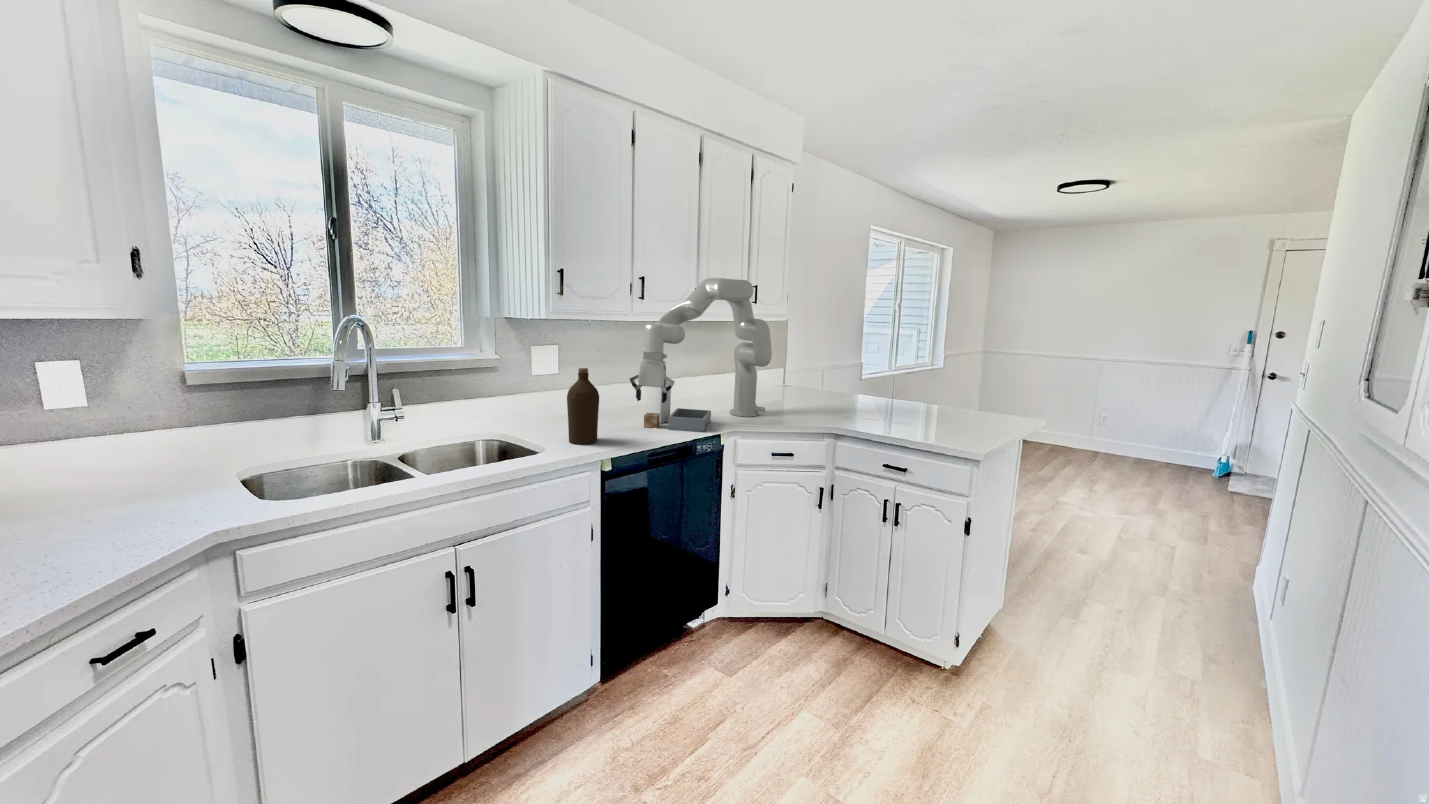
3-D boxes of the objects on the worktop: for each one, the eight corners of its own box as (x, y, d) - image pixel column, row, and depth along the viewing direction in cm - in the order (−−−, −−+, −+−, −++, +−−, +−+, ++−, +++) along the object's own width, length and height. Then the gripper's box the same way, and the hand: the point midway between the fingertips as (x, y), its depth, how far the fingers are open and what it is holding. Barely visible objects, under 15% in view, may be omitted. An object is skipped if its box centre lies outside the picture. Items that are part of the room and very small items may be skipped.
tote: (710, 422, 235) (711, 410, 234) (704, 432, 218) (704, 419, 217) (676, 420, 237) (677, 408, 236) (667, 429, 219) (668, 416, 218)
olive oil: (602, 444, 194) (602, 370, 189) (569, 446, 189) (569, 370, 185) (595, 436, 203) (595, 366, 199) (564, 438, 199) (564, 366, 195)
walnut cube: (659, 426, 225) (659, 413, 224) (656, 428, 220) (656, 416, 219) (646, 425, 226) (647, 412, 225) (643, 428, 221) (644, 415, 220)
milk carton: (645, 421, 232) (646, 374, 229) (655, 418, 238) (656, 372, 235) (660, 423, 229) (661, 376, 226) (670, 420, 235) (671, 374, 232)
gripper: (677, 357, 221) (675, 401, 223) (633, 354, 223) (631, 398, 225) (673, 359, 213) (671, 404, 216) (628, 355, 215) (626, 401, 218)
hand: (651, 401), depth 221 cm, fingers open, 9 cm apart
